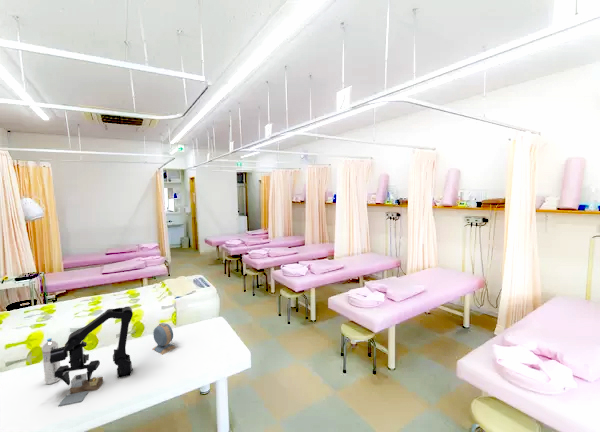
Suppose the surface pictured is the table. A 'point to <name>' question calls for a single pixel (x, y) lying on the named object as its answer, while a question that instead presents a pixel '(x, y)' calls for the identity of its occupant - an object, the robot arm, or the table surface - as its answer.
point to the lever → (94, 381)
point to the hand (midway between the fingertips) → (79, 383)
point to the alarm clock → (163, 338)
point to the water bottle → (49, 367)
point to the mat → (73, 398)
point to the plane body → (87, 386)
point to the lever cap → (78, 380)
